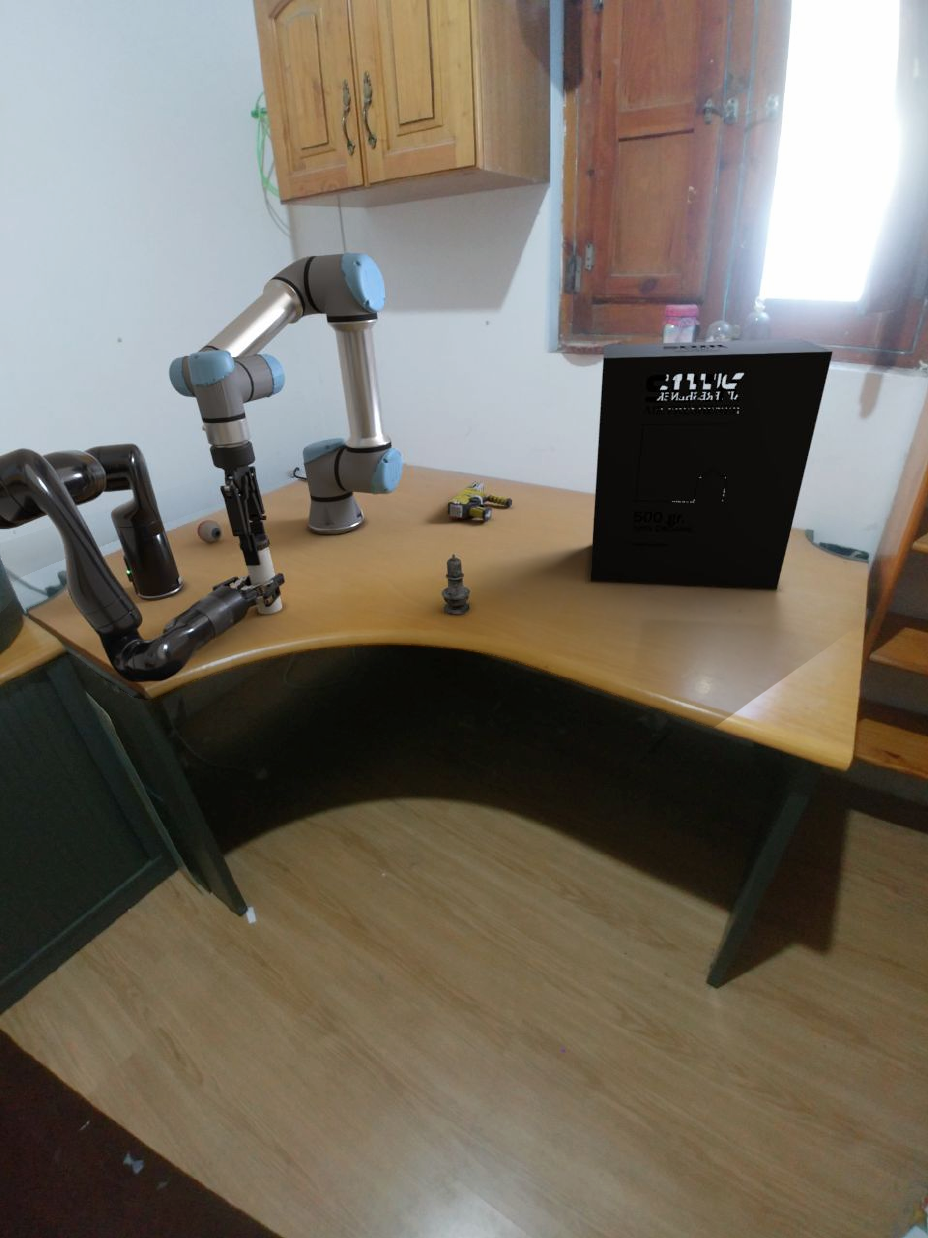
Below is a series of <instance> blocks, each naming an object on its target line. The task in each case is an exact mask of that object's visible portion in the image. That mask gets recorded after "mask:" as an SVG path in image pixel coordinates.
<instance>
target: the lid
mask: <svg viewBox="0 0 928 1238" xmlns="http://www.w3.org/2000/svg"><path fill="white" fill-rule="evenodd" d="M254 538H255V542H256V546H257V550H258V551H260V550H263V549H265V548H267V547H269V546H270V544H271V542H270V538H269V536H268V535H267V533H265V534H254ZM238 546H239V549H240V551H242V548H241V544H240V540H238Z"/></svg>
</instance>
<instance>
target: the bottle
mask: <svg viewBox="0 0 928 1238" xmlns="http://www.w3.org/2000/svg"><path fill="white" fill-rule="evenodd" d="M268 547H269V546H268ZM268 547H267V548H265V549H263V550H260V551H258V554H259V558H260V563H261V564H260V565H256V566H246V568H247V572H248V575H249V576H250V580H251V584H252V585H253V584H256V583H258V582H260V583H264V582H266V581H269V580H270V579H271V578H273V577H274V576H275V575H276V573H275V570H274V565H273V559H272V556H271V555H272V554H271V551H270V548H268ZM267 589H268V586H267V587H265V591H267ZM257 590H258V593H259V589H258V588H257ZM259 595H260V593H259ZM256 607H257V612H258V613H259V614H260V615H272V614H275V613H278V612H280V611H281V610H282V609H283V603H282V599H281V595H280V596H279V597H278V598H277V599H276V601H275V602H274V603H273V604H272V605H271V606H270V607H265V604H264V603H258V604H257V605H256Z"/></svg>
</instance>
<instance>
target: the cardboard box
mask: <svg viewBox="0 0 928 1238" xmlns="http://www.w3.org/2000/svg"><path fill="white" fill-rule="evenodd" d="M833 353H834V352H833V350H830V349H827V348H826V347H825V348H824V347H822V346H821V345H818V344H815V343H813V342H810V341H808V340H805V339H802V338H783V339H782V338H781V339H779V338H777V339H776V338H775V339H749V340H747V339H746V340H723V341H722V340H720V341H719V340H718V341H689V342H687V341H685V342H683V341H682V342H657V343H654V342H653V343H627V344H625V343H624V344H623V343H621V344H604V345H603V359H602V362H603V363H602V375H601V389H600V390H601V392H600V409H599V424H598V425H599V426H598V427H599V428H598V442H597V457H596V458H597V459H596V460H597V461H596V475H595V493H594V496H595V497H594V508H593V509H594V510H593V525H592V527H593V528H592V541H591V557H590V558H591V560H590V575H589V576H590V577H589V580H590V582H603V583H622V584H623V583H625V584H626V583H628V584H645V585H647V584H648V585H669V586H670V585H671V586H693V587H712V588H714V587H715V588H734V589H735V588H737V589H755V590H757V589H758V590H759V589H760V590H778V586H779V582H780V577H781V574H782V570H783V565H784V561H785V556H786V553H787V548H788V543H789V539H790V536H791V531H792V526H793V522H794V519H795V513H796V510H797V505H798V501H799V497H800V493H801V489H802V484H803V480H804V476H805V471H806V467H807V464H808V463H807V462H808V458H809V455H810V450H811V446H812V442H813V437H814V434H815V430H816V425H817V421H818V417H819V411H820V407H821V404H822V400H823V399H822V398H823V394H824V390H825V386H826V381H827V378H828V374H829V369H830V366H831V360H832V356H833ZM738 374H742V376H741V377H740V378H735V376H736V375H738ZM678 375H681V379H680V380H679V384H678V388H675V385H676V379H675V377H676V376H678ZM689 375H693V380H692V381H691V379H688V376H689ZM702 375H704V379H702ZM719 378H720V382H719ZM724 378H725V382H724ZM723 382H724V385H730V384H731V385H734V388H725V387H724V386H723ZM691 383H692V385H695V388H691ZM705 385H710V388H704V386H705ZM662 387H666V389H662Z"/></svg>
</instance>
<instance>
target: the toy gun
mask: <svg viewBox="0 0 928 1238" xmlns="http://www.w3.org/2000/svg"><path fill="white" fill-rule="evenodd" d="M487 502H488V503H493V504H496V505H500V506H504V507H506V508H510V507H511V506H512V505H513V499H512V498H509V497H504V496H500V495H499V496H498V495H494V494H492V493H490V494H489V495H488V496H487V495H486V492H485V483H484V482H483V481H480V482H479V481H477V480H474V482H473V483H471V484H470V485H468V486H467V487H465V488H464V489H462V491H460V492H459V493H458V494H456V496H454V497H453V498H452V499H451V500H449V501H448V502H447V505H446V514H447V516H448V517H451V518H452V519H455V520H458V519H459V518H460V519H467V518H471V517H475V518H479V519H482V522H484V523H485V522H487V521H488V520H491V518H492V512H493V507H492V506H485V505H484V504H486V503H487Z"/></svg>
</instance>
